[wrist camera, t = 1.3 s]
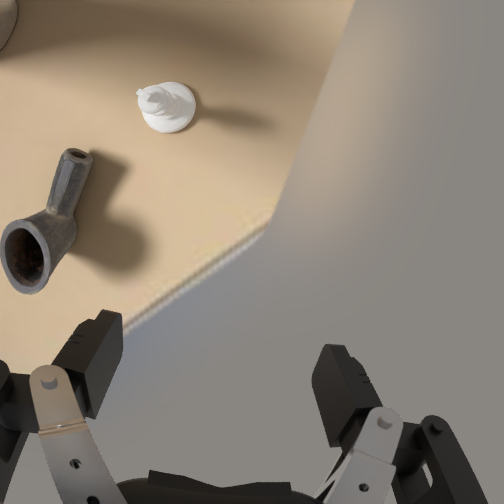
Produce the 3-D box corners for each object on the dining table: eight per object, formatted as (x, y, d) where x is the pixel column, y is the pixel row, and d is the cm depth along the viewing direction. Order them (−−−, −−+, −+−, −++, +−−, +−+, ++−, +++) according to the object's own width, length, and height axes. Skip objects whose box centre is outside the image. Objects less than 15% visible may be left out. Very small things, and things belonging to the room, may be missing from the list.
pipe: (112, 162, 26) (79, 177, 18) (73, 269, 29) (43, 308, 22) (64, 138, 24) (20, 146, 16) (31, 245, 27) (-6, 278, 20)
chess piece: (164, 72, 23) (140, 45, 14) (206, 100, 25) (203, 85, 15) (132, 115, 24) (93, 111, 15) (174, 143, 26) (153, 151, 17)
